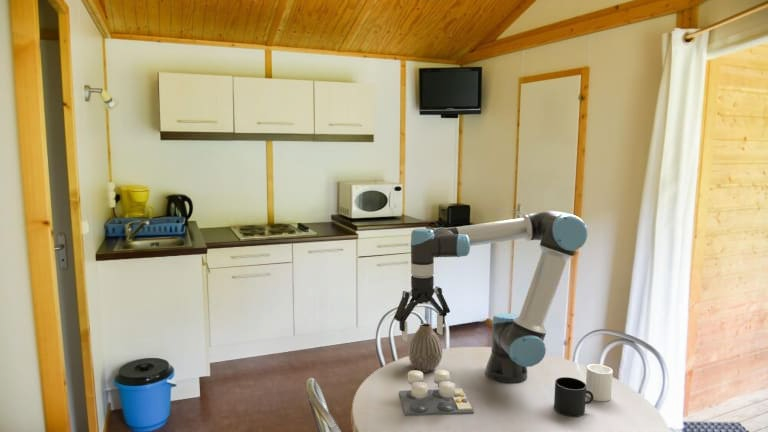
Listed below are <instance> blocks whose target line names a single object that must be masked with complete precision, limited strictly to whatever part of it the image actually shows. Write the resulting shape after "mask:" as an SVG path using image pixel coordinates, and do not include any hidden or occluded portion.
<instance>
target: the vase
mask: <svg viewBox="0 0 768 432" xmlns="http://www.w3.org/2000/svg"><path fill="white" fill-rule="evenodd" d="M436 333H437V332H435V331H434V330H433V327H432V324H430V323H420V324H419V327H418V329H417V330H416V331H415V333H413V335H412V337H411V339H410V341H409V344H408V349H407V352H408V353H407V354H408V359H409V362H410V365H412V367H413V368H415V369H416V370H417V371H421V372H423V373H431V372H433V371H434V370H435V369H436V368H438V367H439V366H440V363H441V361H442V358H443V346H442V342H441V340H440V338H439V336H438V334H436Z"/></svg>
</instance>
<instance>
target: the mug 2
mask: <svg viewBox="0 0 768 432" xmlns="http://www.w3.org/2000/svg"><path fill="white" fill-rule="evenodd" d="M613 373H614V370H613V369H612V368H611V367H609V366H607V365H604V364H601V363H600V364H598V363H592V364H591V363H588V364H587V365H586V375H585V376H586V378H585V384H586V390H588V391H590V392H592V394H593V400H594V401H596V402H609V401H610V400H611V399H612V389H613V375H614V374H613ZM586 397H587V398H589V399H590V398H591V396H590V394H588V393H586Z"/></svg>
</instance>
